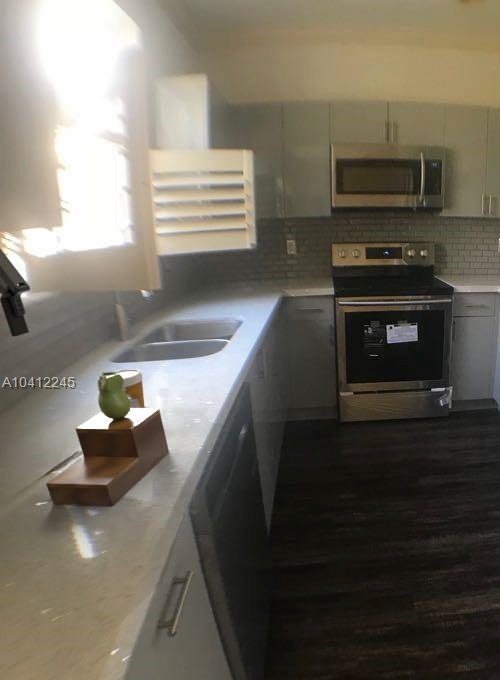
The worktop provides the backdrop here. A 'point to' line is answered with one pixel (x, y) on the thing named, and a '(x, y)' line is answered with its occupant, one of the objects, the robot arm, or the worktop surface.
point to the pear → (113, 396)
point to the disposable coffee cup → (133, 384)
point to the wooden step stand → (111, 458)
